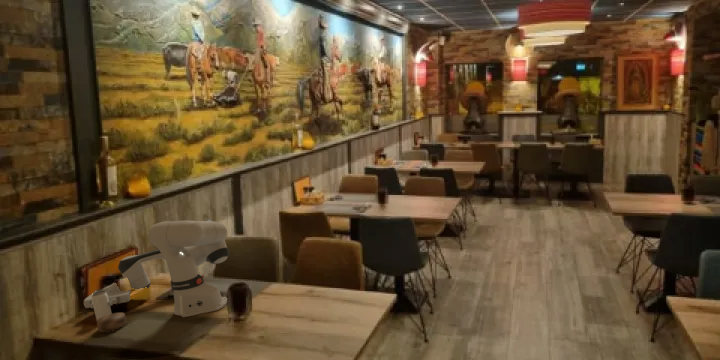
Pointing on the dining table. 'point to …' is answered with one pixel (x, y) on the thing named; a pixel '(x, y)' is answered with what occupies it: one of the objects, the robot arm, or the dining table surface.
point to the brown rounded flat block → (111, 322)
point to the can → (101, 304)
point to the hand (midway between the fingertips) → (100, 305)
